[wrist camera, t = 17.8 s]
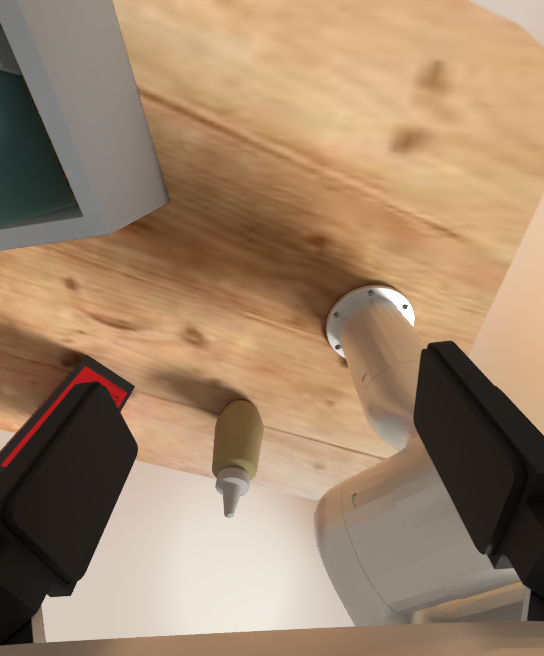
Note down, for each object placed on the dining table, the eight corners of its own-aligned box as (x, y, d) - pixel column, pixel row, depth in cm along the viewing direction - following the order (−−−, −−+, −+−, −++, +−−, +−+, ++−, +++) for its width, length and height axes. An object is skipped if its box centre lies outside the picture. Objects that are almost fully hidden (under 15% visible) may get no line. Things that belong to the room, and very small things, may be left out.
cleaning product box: (87, 354, 49) (-13, 467, 32) (135, 386, 53) (67, 504, 35) (38, 407, 55) (-68, 527, 38) (84, 433, 58) (5, 553, 41)
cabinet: (169, 202, 38) (110, 234, 24) (45, 221, 39) (-80, 262, 25) (101, -35, 28) (-67, -213, 14) (-63, 0, 29) (-368, -132, 15)
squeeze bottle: (228, 388, 53) (210, 489, 37) (271, 403, 54) (271, 506, 39) (212, 419, 56) (188, 522, 41) (253, 432, 58) (245, 537, 43)
